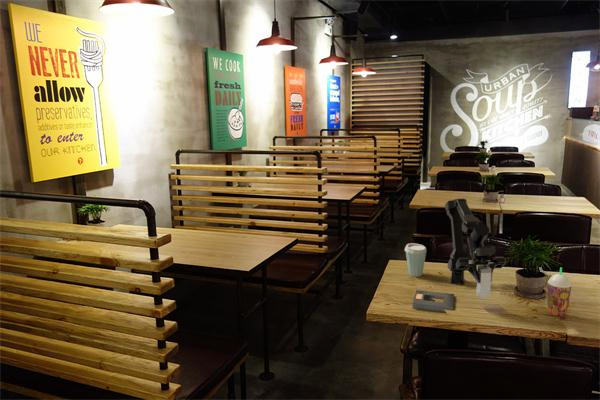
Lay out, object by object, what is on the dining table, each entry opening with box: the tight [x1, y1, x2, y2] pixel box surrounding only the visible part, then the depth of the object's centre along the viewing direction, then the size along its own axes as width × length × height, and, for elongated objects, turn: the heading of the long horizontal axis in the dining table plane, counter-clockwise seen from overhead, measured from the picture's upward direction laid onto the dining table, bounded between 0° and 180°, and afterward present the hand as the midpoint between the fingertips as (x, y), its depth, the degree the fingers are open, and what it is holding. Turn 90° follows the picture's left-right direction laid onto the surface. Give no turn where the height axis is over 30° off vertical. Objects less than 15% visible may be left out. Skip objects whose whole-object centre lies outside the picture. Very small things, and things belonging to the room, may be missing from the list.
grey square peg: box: [475, 265, 492, 299], centre depth 189 cm, size 4×4×12 cm
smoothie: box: [546, 267, 573, 319], centre depth 185 cm, size 8×8×20 cm
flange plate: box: [412, 289, 455, 313], centre depth 201 cm, size 14×16×3 cm
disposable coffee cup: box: [404, 242, 427, 278], centre depth 232 cm, size 11×11×15 cm
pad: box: [480, 303, 510, 315], centre depth 191 cm, size 8×8×2 cm
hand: (485, 282), depth 188 cm, fingers closed on grey square peg, 4 cm apart
